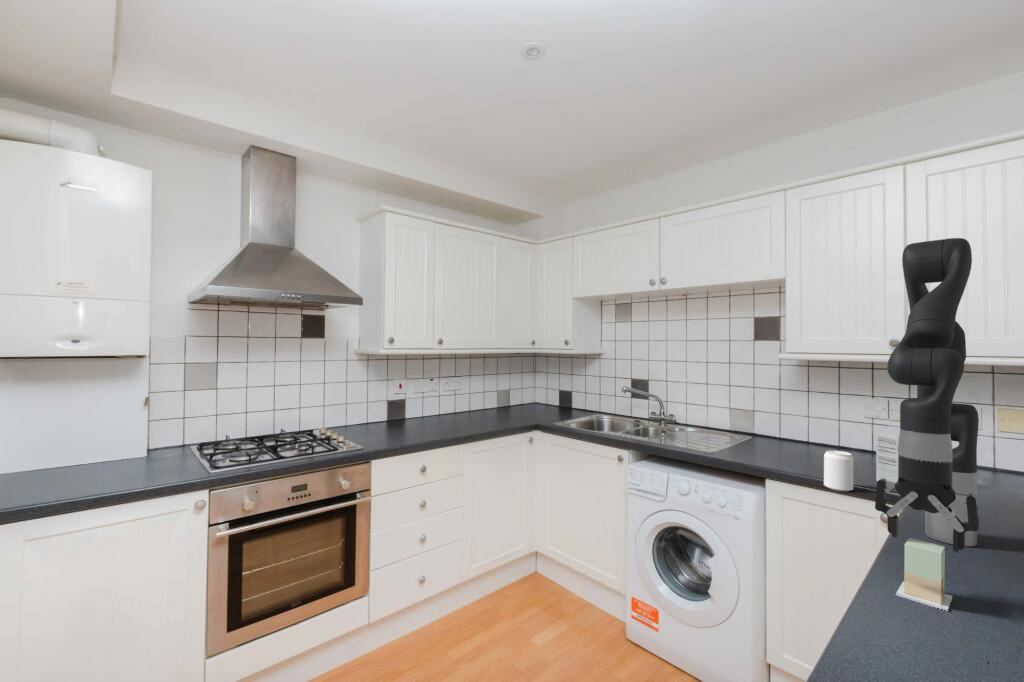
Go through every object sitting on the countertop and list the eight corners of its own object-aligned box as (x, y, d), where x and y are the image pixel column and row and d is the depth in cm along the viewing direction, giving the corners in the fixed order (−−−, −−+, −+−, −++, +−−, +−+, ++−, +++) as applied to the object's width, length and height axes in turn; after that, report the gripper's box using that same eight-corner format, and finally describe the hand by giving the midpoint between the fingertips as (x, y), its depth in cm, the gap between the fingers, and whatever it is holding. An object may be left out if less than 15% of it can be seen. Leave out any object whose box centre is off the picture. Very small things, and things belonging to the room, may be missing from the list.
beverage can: (841, 485, 160) (841, 450, 160) (859, 492, 152) (859, 455, 152) (818, 484, 160) (818, 449, 160) (835, 492, 152) (835, 455, 152)
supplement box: (892, 479, 169) (892, 433, 170) (922, 486, 161) (922, 437, 161) (875, 481, 166) (875, 434, 167) (904, 488, 157) (904, 438, 158)
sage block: (909, 564, 89) (909, 537, 89) (944, 573, 85) (944, 546, 85) (904, 571, 86) (904, 544, 86) (941, 582, 82) (941, 553, 82)
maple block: (909, 584, 89) (909, 563, 89) (944, 595, 85) (944, 573, 85) (904, 593, 86) (904, 571, 86) (940, 605, 82) (940, 582, 82)
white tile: (902, 583, 90) (902, 581, 90) (952, 598, 85) (952, 595, 85) (896, 595, 86) (896, 593, 86) (947, 611, 81) (947, 609, 81)
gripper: (980, 459, 83) (980, 550, 83) (880, 446, 94) (880, 526, 94) (977, 466, 78) (977, 563, 78) (872, 451, 89) (871, 536, 89)
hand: (924, 543), depth 86 cm, fingers open, 8 cm apart
